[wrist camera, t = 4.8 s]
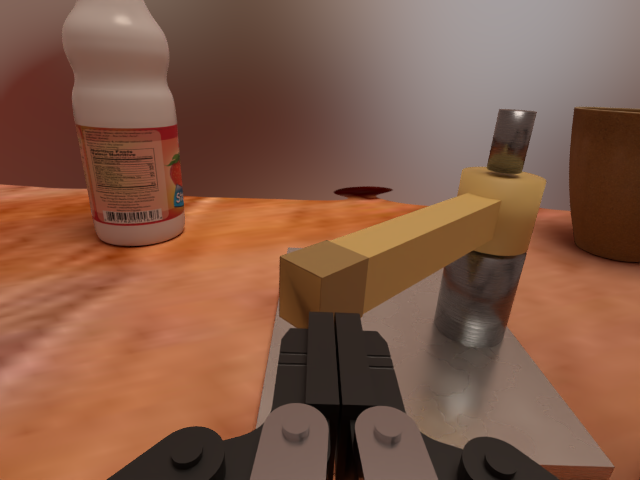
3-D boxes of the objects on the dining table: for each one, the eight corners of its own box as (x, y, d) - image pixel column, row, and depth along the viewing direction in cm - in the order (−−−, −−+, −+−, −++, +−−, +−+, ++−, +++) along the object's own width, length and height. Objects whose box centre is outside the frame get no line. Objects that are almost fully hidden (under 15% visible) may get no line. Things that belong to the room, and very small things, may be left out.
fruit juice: (82, 230, 44) (23, -73, 34) (161, 213, 51) (133, -45, 40) (118, 256, 38) (60, -99, 28) (201, 233, 45) (181, -61, 34)
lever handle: (469, 223, 29) (481, 164, 27) (538, 242, 26) (556, 177, 24) (257, 322, 16) (256, 220, 14) (345, 385, 13) (357, 265, 11)
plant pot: (625, 230, 54) (670, 108, 48) (727, 282, 40) (809, 120, 34) (517, 224, 54) (549, 102, 48) (582, 274, 40) (639, 111, 34)
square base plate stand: (450, 263, 41) (481, 101, 35) (608, 481, 19) (771, 140, 13) (287, 256, 40) (291, 91, 34) (251, 470, 18) (242, 112, 12)
